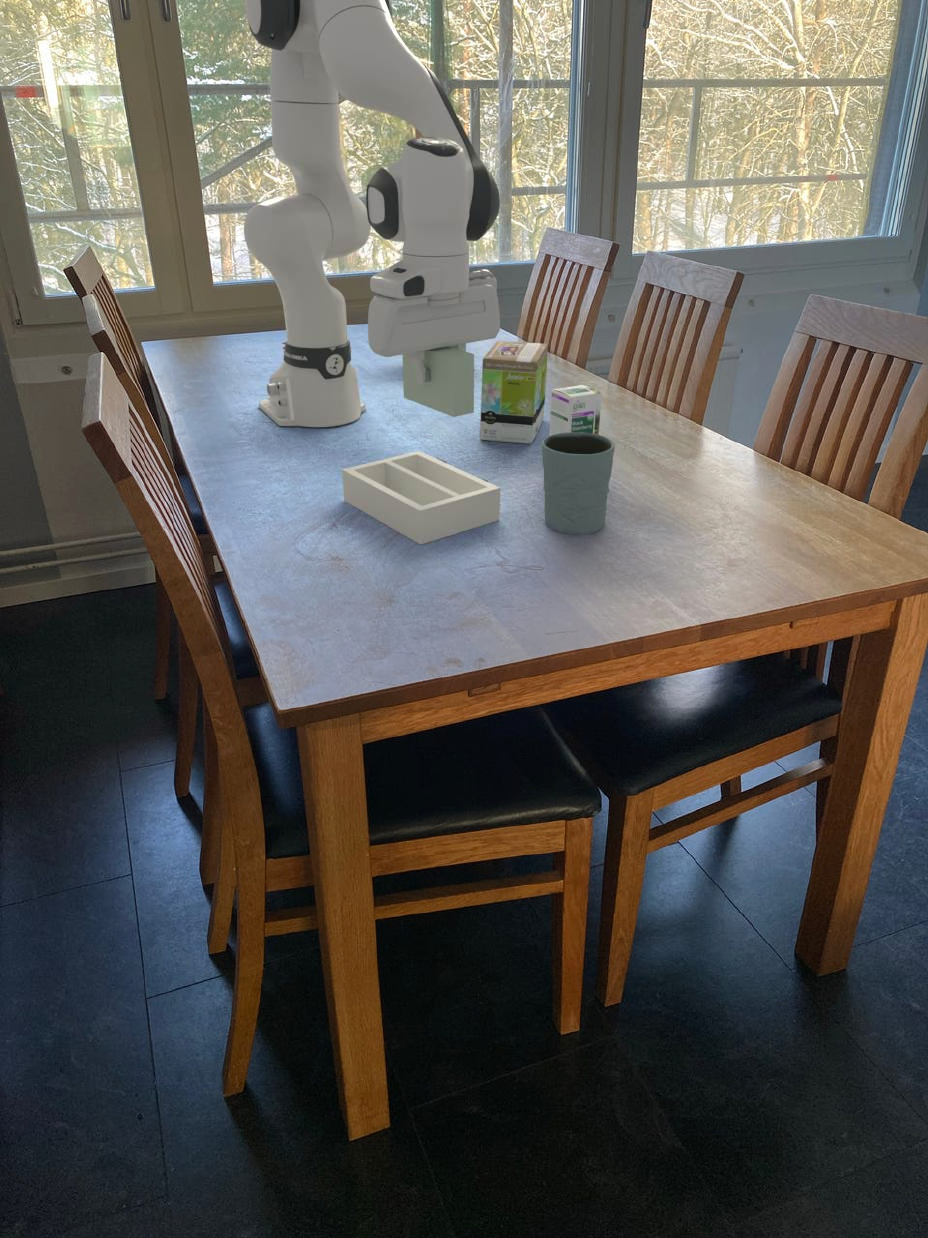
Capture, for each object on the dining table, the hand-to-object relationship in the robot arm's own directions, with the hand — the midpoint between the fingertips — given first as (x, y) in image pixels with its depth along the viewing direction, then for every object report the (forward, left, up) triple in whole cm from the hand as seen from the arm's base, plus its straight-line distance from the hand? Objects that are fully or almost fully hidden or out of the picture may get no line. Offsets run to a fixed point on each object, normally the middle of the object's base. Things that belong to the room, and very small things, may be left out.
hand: (437, 379), depth 130 cm
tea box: (-21, +33, -19) cm, 43 cm away
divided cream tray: (0, -3, -19) cm, 19 cm away
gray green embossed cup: (+17, +12, -19) cm, 28 cm away
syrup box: (+4, +24, -19) cm, 31 cm away
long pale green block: (0, 0, -4) cm, 4 cm away
